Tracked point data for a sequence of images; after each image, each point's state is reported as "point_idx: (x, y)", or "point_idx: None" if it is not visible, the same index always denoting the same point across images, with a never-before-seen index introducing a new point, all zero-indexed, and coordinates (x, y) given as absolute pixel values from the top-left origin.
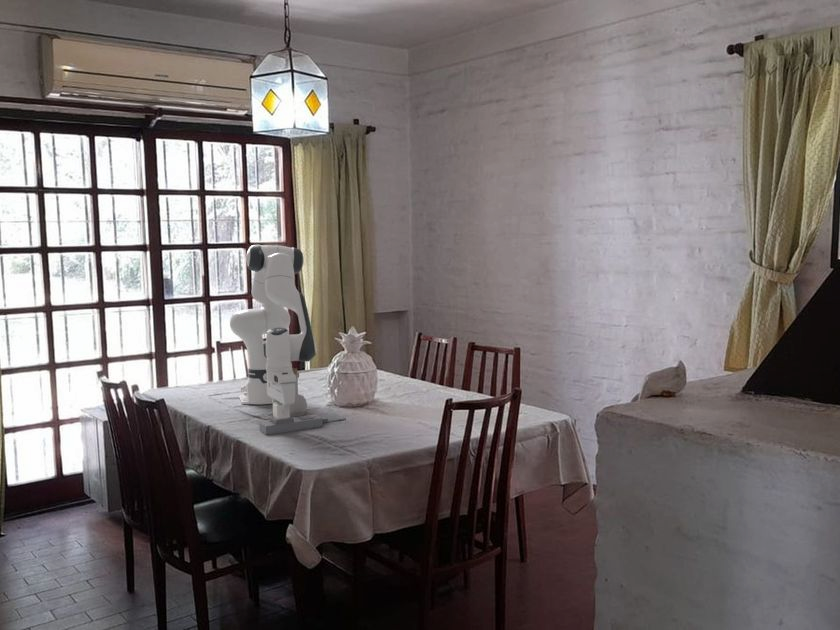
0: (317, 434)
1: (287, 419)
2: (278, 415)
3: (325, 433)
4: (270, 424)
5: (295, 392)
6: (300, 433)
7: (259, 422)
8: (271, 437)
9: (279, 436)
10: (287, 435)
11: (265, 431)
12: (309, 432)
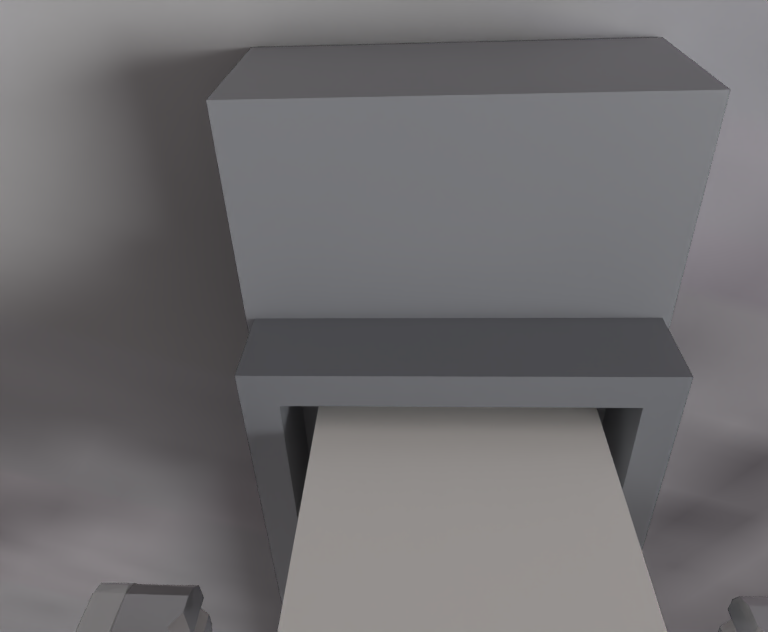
0: (15, 567)
1: (274, 546)
2: (303, 519)
3: (35, 618)
4: (333, 246)
5: None
6: (127, 470)
7: (718, 89)
8: (15, 81)
9: (48, 218)
10: (74, 327)
11: (263, 64)
12: (137, 543)
